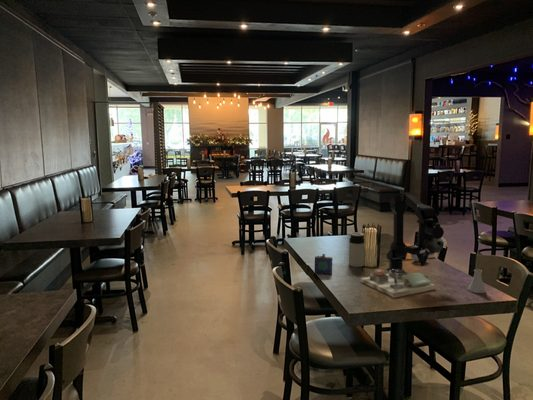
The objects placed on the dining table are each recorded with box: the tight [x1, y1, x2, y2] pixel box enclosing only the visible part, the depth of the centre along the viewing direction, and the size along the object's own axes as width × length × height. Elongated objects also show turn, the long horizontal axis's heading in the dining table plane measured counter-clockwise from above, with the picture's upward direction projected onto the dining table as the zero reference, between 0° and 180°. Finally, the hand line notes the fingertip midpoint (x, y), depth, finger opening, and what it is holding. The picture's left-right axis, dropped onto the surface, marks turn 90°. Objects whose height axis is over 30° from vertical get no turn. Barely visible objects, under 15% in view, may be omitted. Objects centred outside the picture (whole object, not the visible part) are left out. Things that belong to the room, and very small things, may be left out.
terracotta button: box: [374, 268, 385, 277], centre depth 203 cm, size 4×4×2 cm
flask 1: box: [314, 253, 333, 276], centre depth 218 cm, size 9×3×11 cm, turn 78°
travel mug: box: [348, 231, 365, 268], centre depth 233 cm, size 8×8×18 cm
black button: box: [394, 269, 404, 273], centre depth 209 cm, size 4×4×2 cm
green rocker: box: [401, 272, 432, 287], centre depth 198 cm, size 8×11×1 cm
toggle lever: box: [391, 269, 397, 284], centre depth 194 cm, size 2×2×7 cm
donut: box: [409, 244, 422, 262], centre depth 241 cm, size 10×3×10 cm, turn 110°
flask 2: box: [467, 269, 487, 294], centre depth 193 cm, size 7×7×10 cm
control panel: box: [360, 270, 436, 299], centre depth 201 cm, size 23×25×5 cm
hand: (422, 265), depth 199 cm, fingers closed
